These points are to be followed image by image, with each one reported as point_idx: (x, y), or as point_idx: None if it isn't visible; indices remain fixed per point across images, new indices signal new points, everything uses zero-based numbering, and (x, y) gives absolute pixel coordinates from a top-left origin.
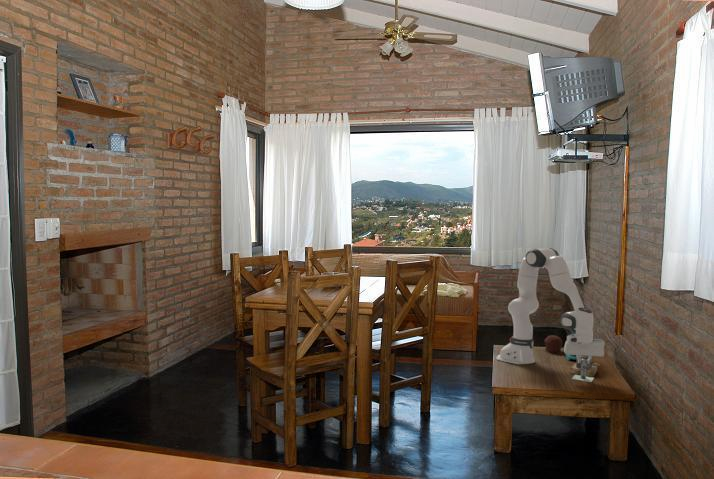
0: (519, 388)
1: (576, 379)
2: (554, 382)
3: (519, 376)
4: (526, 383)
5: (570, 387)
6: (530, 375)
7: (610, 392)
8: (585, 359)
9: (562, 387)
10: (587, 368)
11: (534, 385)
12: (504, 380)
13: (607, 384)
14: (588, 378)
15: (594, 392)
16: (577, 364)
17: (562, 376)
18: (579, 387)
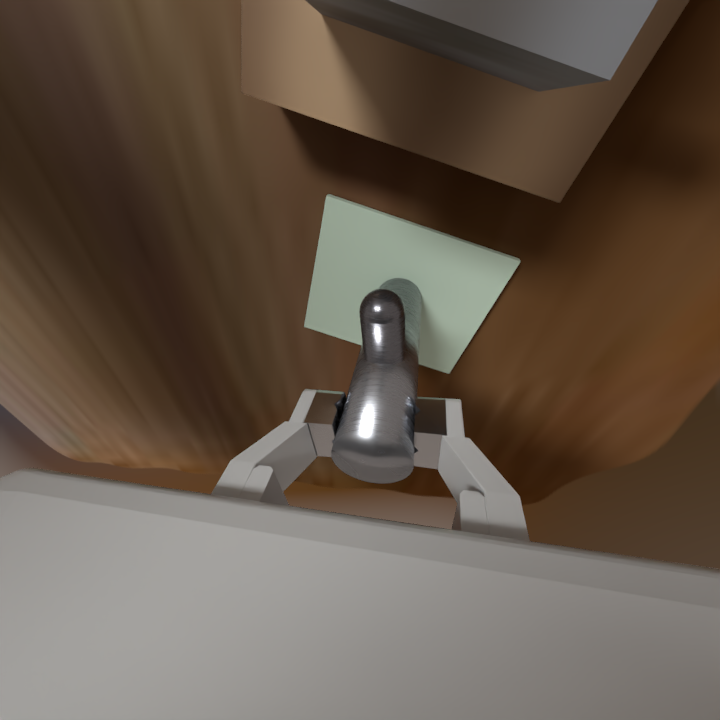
0: (129, 467)
1: (340, 336)
2: (217, 398)
3: (7, 330)
4: (114, 422)
5: None
6: (33, 295)
7: None
8: (397, 469)
9: None
10: (510, 77)
11: (155, 440)
12: (15, 398)
13: (567, 395)
14: (447, 300)
15: (418, 495)
16: (324, 8)
17: (226, 264)
18: None
